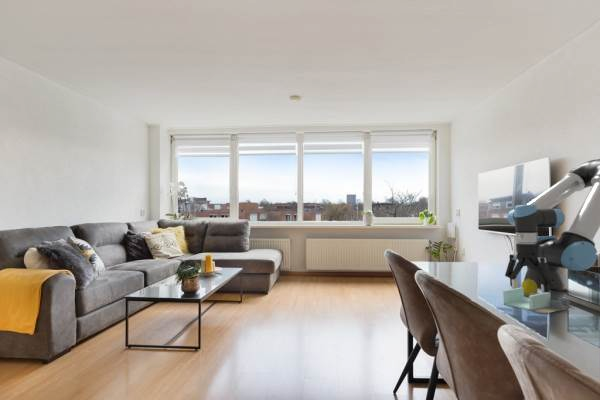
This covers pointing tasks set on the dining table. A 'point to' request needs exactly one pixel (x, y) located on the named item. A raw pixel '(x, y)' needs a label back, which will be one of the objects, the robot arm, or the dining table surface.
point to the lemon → (529, 287)
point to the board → (547, 310)
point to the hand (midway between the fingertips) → (529, 298)
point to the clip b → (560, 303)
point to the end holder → (534, 303)
